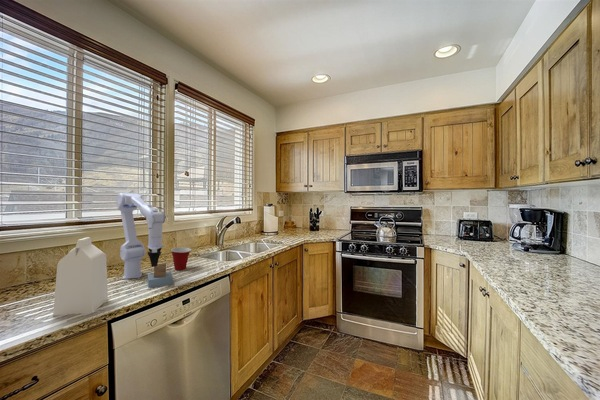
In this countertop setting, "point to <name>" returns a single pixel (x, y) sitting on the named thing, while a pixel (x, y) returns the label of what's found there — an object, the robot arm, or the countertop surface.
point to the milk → (81, 280)
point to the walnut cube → (160, 270)
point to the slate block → (160, 280)
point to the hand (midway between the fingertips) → (154, 264)
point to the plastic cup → (180, 257)
